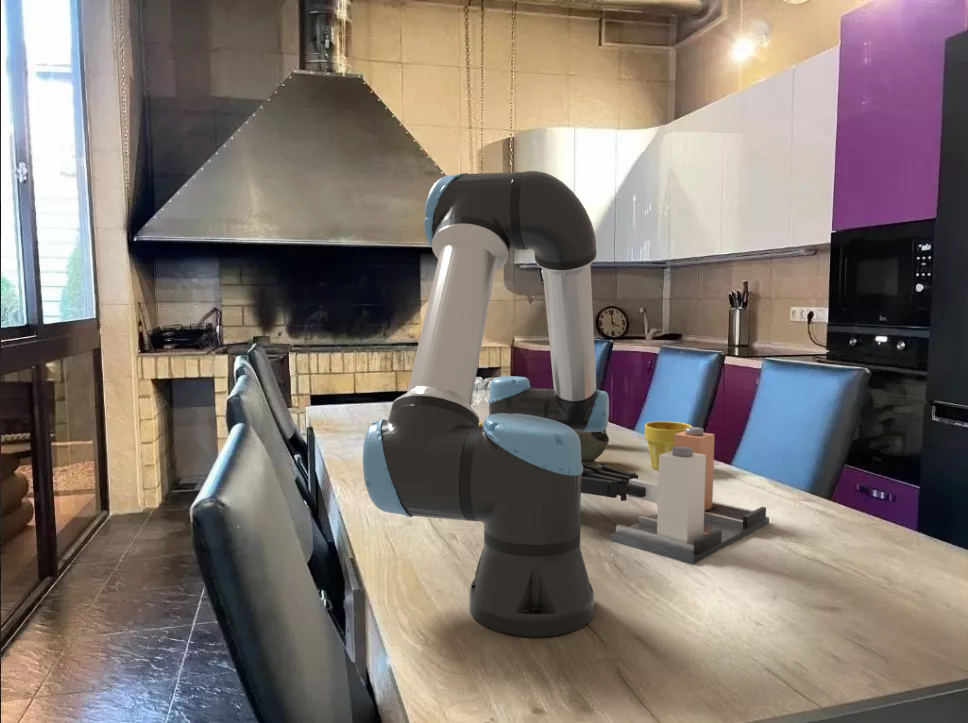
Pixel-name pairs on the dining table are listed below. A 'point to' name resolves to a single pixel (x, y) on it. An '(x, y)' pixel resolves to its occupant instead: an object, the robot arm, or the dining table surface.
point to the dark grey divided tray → (718, 533)
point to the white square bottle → (681, 494)
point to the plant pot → (661, 438)
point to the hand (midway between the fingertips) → (667, 495)
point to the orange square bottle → (700, 445)
